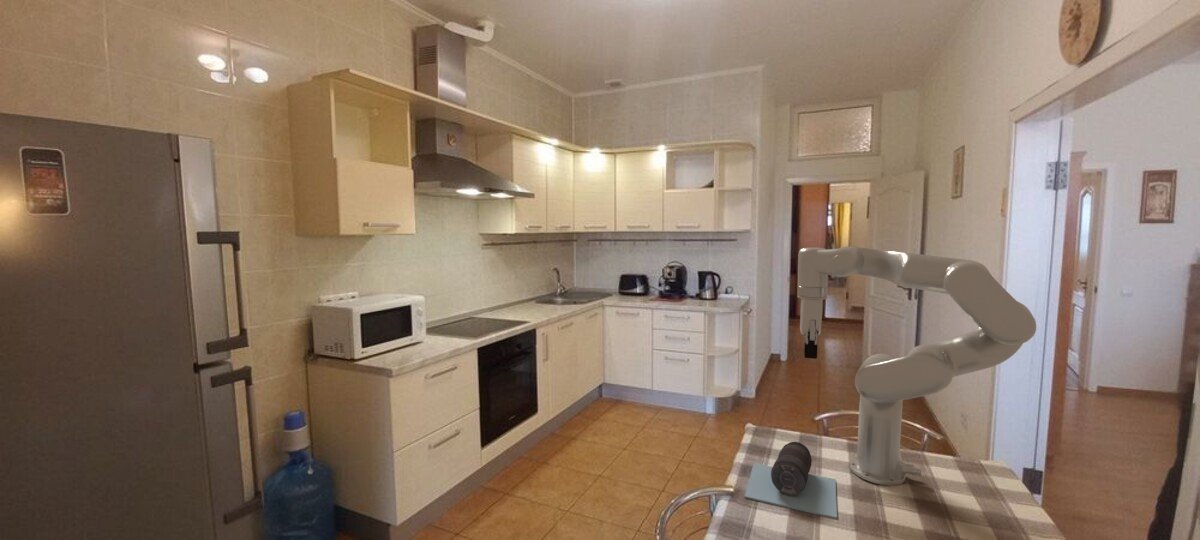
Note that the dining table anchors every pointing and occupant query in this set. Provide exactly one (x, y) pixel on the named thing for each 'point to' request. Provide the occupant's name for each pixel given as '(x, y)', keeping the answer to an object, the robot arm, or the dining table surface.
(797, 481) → the camera lens
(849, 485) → the dining table surface
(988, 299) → the robot arm
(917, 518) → the dining table surface
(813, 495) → the blue mat
